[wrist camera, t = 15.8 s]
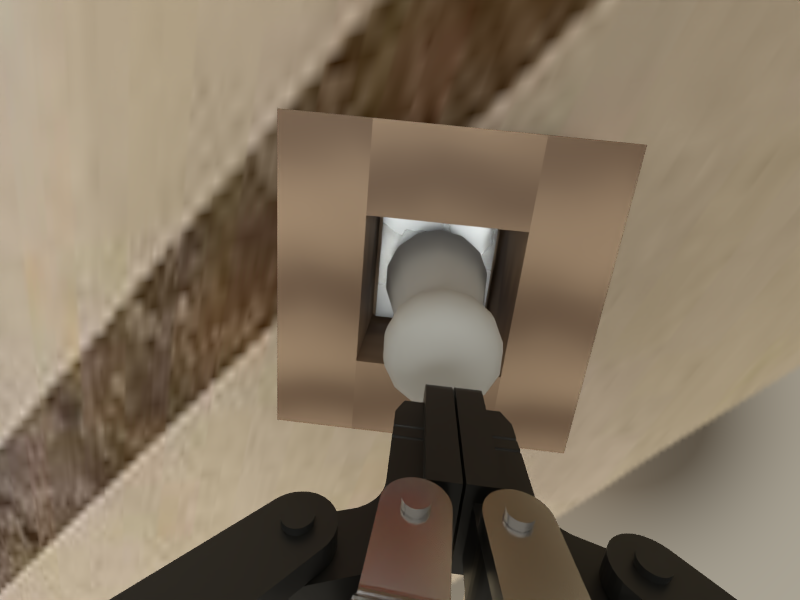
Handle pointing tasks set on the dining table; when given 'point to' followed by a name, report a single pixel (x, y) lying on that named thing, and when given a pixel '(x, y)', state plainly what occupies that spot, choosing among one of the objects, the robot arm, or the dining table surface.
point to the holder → (451, 204)
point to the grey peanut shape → (439, 317)
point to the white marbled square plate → (404, 229)
